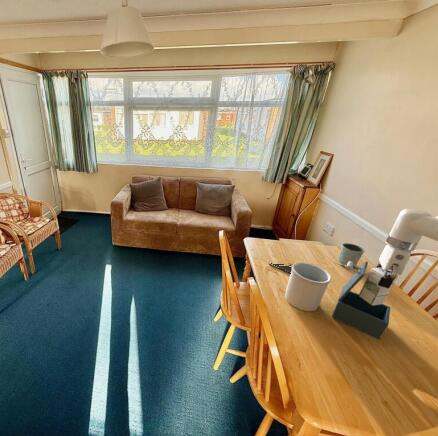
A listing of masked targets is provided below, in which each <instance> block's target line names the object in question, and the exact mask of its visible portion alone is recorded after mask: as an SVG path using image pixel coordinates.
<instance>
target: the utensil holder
mask: <svg viewBox="0 0 438 436" xmlns="http://www.w3.org/2000/svg"><path fill="white" fill-rule="evenodd" d="M292 265H293V266H292V271H291V274H290V273H289V278H288V281H287V284H286V288H285V292H284V293H285V294H284V297H285V300H286V301H287V302H288V303H289V304H290V305H291V306H292V307H294V308H296V309H298V310H301V311H304V312H314V311H316V310H317V309H318V308H319V306H320V303H321V301H322V300H323V297H324V295H325V293H326V290H327V288H328V286H329V284H330V283H331V281H332V275H331V274H330V272H329V271H328V270H326V269H324V268H323V267H321V266H319V265H316V264H315V263H311V262H304V261H299V262H295V263H293V264H292Z"/></svg>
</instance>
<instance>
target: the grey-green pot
mask: <svg viewBox="0 0 438 436" xmlns="http://www.w3.org/2000/svg"><path fill="white" fill-rule="evenodd" d="M364 253H365V248H363V247H361V246H360V245H357V244H355V243H350V242H349V243H348V242H344V243H342V244H341V248H340V251H339V253H338V254H339V255H338V257H337V260H338V261H339V262H340V263H341V264H343V265H346V266H347V263H348V262H349V261H351V262H353V264H355V265H357V266H358V262H359V260H360V259H361V258H362V256H363V254H364ZM352 267H354V266H352Z"/></svg>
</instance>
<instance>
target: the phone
mask: <svg viewBox="0 0 438 436" xmlns="http://www.w3.org/2000/svg"><path fill="white" fill-rule="evenodd" d="M271 264H272V263H271ZM289 264H290V263H289ZM273 265H275V266H277V267H279V268H281V269H283V270H286V271H288V272H290V273H291V271H292V267H289V266H291V265H292V266H293V264H290V265H289V266H279V265H284V264H273ZM279 268H278V269H279ZM281 269H280V270H281ZM283 270H282V271H283ZM286 271H285V272H286ZM288 272H287V273H288ZM290 273H289V274H290Z"/></svg>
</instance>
